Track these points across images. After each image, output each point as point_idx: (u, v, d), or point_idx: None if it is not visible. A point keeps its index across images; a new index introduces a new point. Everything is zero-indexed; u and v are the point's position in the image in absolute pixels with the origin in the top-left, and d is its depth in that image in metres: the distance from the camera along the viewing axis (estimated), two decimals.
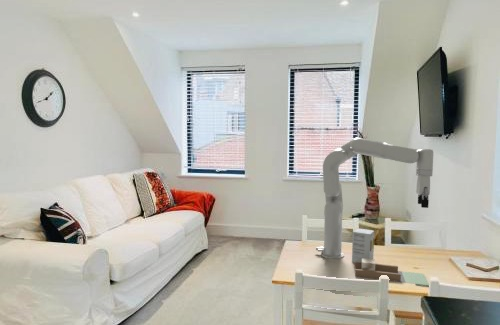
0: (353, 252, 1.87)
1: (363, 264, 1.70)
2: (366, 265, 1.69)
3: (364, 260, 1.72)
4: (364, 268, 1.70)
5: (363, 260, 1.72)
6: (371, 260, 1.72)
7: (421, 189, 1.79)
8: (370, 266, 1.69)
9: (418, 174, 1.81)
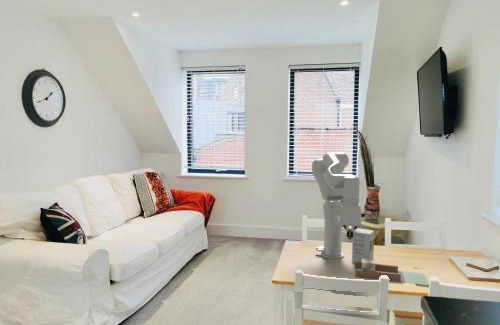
0: (353, 252, 1.87)
1: (363, 264, 1.70)
2: (366, 265, 1.69)
3: (364, 260, 1.72)
4: (364, 268, 1.70)
5: (363, 260, 1.72)
6: (371, 260, 1.72)
7: None
8: (370, 266, 1.69)
9: (355, 204, 1.69)
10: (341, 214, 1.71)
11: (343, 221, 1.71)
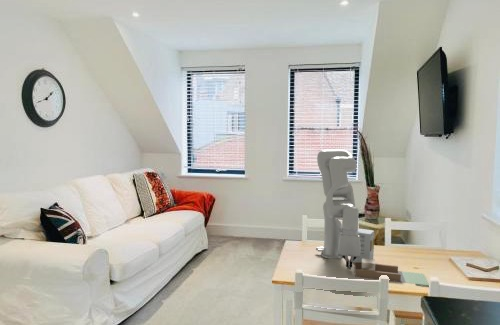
0: None
1: (363, 264, 1.70)
2: (366, 265, 1.69)
3: (364, 260, 1.72)
4: (364, 268, 1.70)
5: (363, 260, 1.72)
6: (371, 260, 1.72)
7: None
8: (370, 266, 1.69)
9: (354, 235, 1.70)
10: (340, 244, 1.72)
11: (342, 251, 1.72)
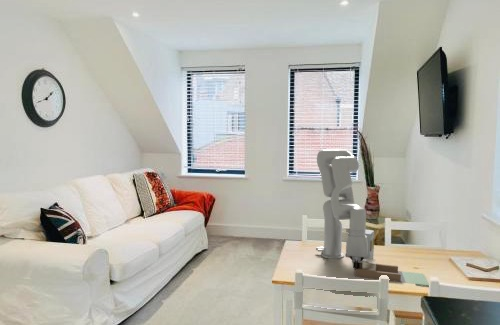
0: None
1: (364, 264, 1.70)
2: (367, 265, 1.69)
3: (364, 260, 1.72)
4: (365, 268, 1.70)
5: (364, 260, 1.72)
6: (372, 260, 1.72)
7: (367, 250, 1.70)
8: (370, 266, 1.69)
9: (361, 236, 1.69)
10: (347, 245, 1.71)
11: (349, 252, 1.71)
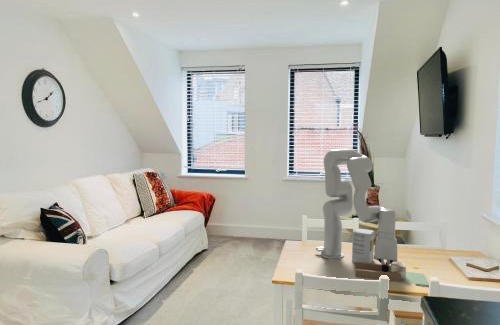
0: (353, 252, 1.87)
1: (393, 267, 1.66)
2: (396, 268, 1.65)
3: (393, 263, 1.68)
4: (394, 271, 1.66)
5: (393, 263, 1.68)
6: (401, 263, 1.68)
7: (397, 253, 1.66)
8: (400, 270, 1.65)
9: (391, 238, 1.65)
10: (376, 247, 1.68)
11: (378, 255, 1.68)
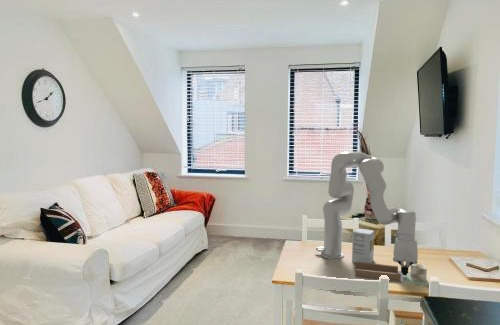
0: (353, 252, 1.87)
1: (413, 270, 1.63)
2: (417, 271, 1.63)
3: (413, 266, 1.65)
4: (414, 274, 1.63)
5: (413, 265, 1.66)
6: (421, 266, 1.66)
7: (417, 255, 1.64)
8: (421, 272, 1.62)
9: (411, 240, 1.63)
10: (396, 249, 1.65)
11: (398, 257, 1.65)
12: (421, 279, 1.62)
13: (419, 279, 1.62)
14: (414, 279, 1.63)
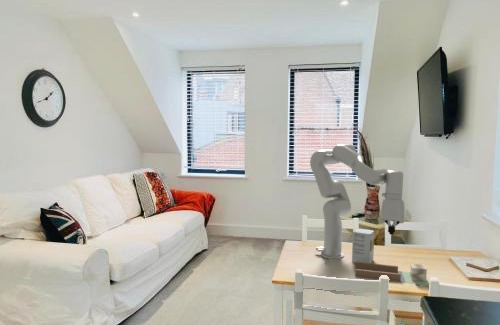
0: (353, 252, 1.87)
1: (413, 270, 1.63)
2: (417, 271, 1.63)
3: (413, 265, 1.65)
4: (414, 274, 1.63)
5: (413, 265, 1.66)
6: (421, 265, 1.66)
7: None
8: (421, 272, 1.62)
9: (398, 199, 1.66)
10: (383, 209, 1.69)
11: (385, 216, 1.69)
12: (421, 279, 1.62)
13: (419, 279, 1.62)
14: (414, 279, 1.63)
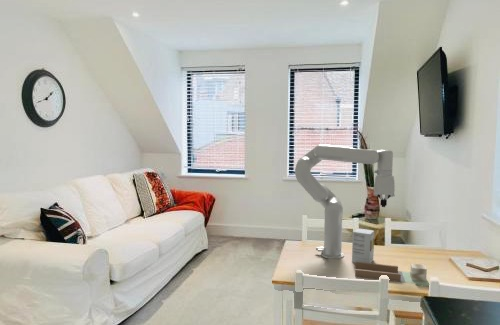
0: (353, 252, 1.87)
1: (413, 270, 1.63)
2: (417, 271, 1.63)
3: (413, 265, 1.65)
4: (414, 274, 1.63)
5: (413, 265, 1.66)
6: (421, 265, 1.66)
7: (394, 188, 1.87)
8: (421, 272, 1.62)
9: (389, 175, 1.86)
10: (376, 184, 1.89)
11: (378, 190, 1.88)
12: (421, 279, 1.62)
13: (419, 279, 1.62)
14: (414, 279, 1.63)
